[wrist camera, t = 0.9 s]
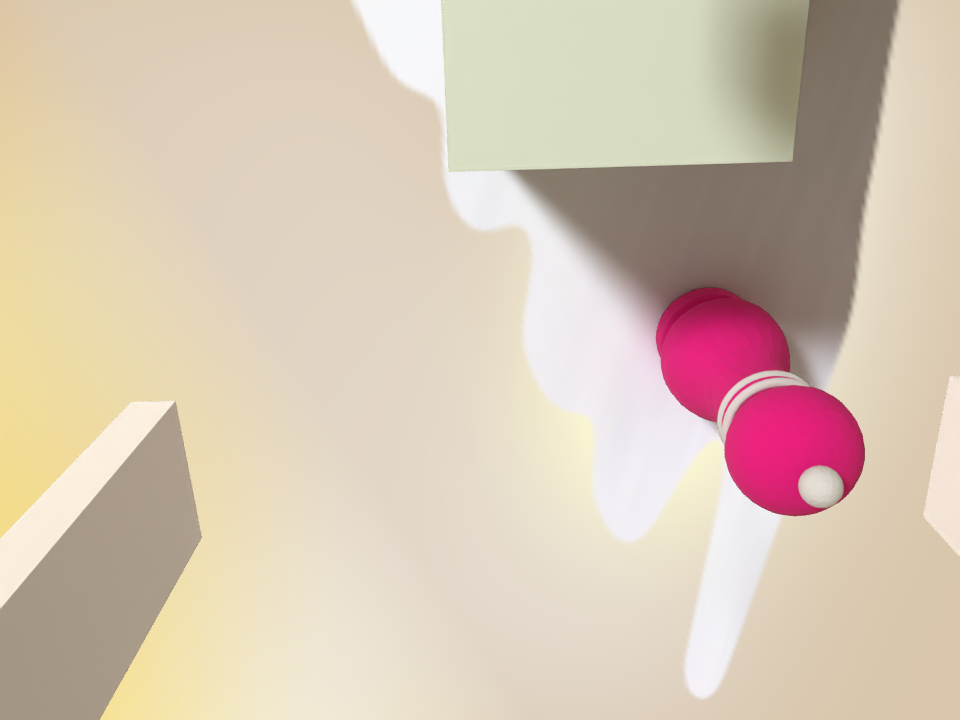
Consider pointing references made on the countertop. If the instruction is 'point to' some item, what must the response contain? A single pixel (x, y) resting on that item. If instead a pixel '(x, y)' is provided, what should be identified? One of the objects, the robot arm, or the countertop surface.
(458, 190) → the countertop surface
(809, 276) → the countertop surface
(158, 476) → the robot arm
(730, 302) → the pepper mill
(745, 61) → the sage box
